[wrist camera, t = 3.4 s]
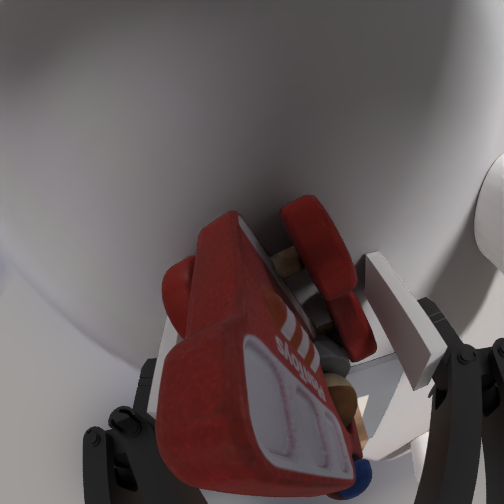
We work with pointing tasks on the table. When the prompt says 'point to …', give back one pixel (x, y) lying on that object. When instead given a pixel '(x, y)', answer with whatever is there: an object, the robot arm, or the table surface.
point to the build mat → (375, 388)
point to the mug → (491, 215)
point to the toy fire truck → (264, 364)
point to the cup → (419, 453)
